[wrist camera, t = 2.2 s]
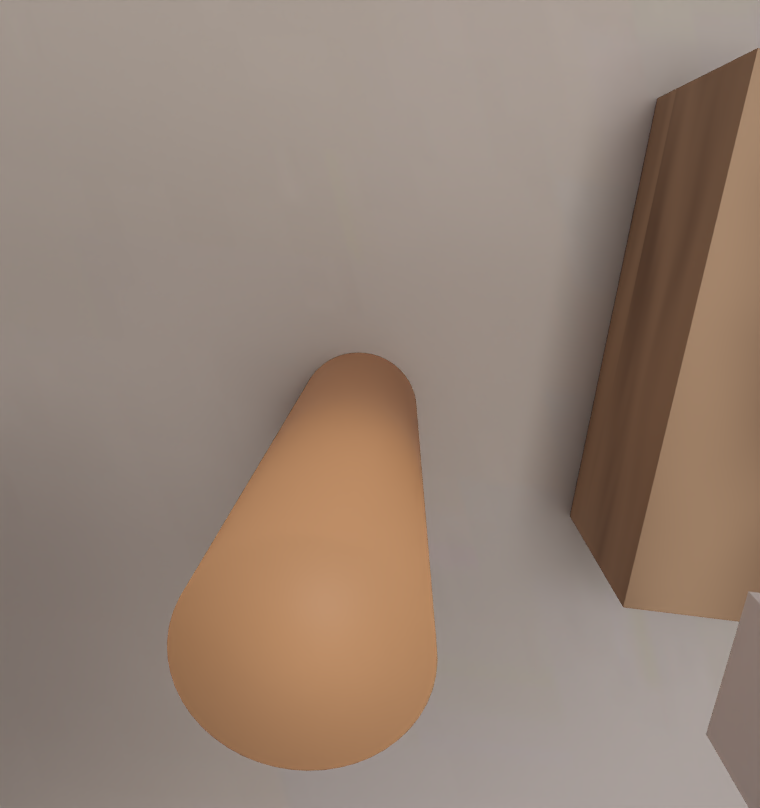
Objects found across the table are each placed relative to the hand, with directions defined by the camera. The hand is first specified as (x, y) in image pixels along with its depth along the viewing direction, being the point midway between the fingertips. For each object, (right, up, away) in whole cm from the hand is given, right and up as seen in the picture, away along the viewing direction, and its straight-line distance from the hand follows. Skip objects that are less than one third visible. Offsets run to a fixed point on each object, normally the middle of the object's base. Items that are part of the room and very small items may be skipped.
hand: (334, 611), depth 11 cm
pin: (0, +3, +12) cm, 13 cm away
